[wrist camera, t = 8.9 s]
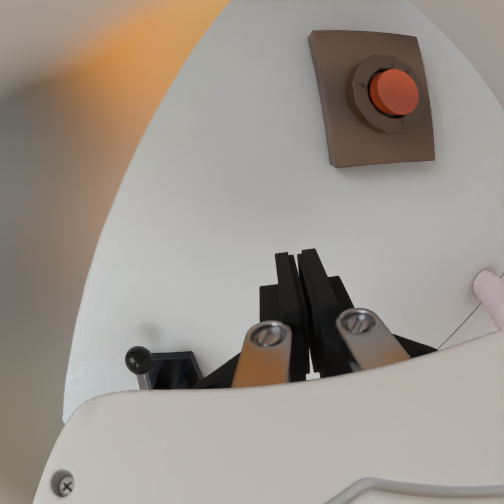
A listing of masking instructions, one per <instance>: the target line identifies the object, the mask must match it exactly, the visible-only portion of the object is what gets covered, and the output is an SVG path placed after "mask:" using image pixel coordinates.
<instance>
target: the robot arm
mask: <svg viewBox="0 0 504 504" xmlns="http://www.w3.org/2000/svg"><path fill="white" fill-rule="evenodd" d="M297 259H298V269H299V275H298V271H297V267H296V263H295V259H294V255H288V252H284V253H276V254H275V260H276V268H277V276H278V284H275V285H267V286H260V323H257V324H256V325H254V326H252V327H251V328H250V329H249V330H248V332H247V334H246V336H245V340H244V343H243V347H242V350H241V352H240V353H239V354H237V355H236V356H235V357H233V358H232V359H231V360H229V361H228V362H226V363H225V364H224V365H222V366H221V367H219V368H218V369H217V370H215V371H214V372H212V373H211V374H209V375H208V376H207V377H205V378H204V379H202V380H201V381H199V382H198V383H196V384H195V385H194V386H193V387H192V388H191V389H177V390H128V391H121V392H113V393H109V394H105V395H101V396H98V397H95V398H92V399H90V400H88V401H86V402H84V403H83V404H81V405H80V406H79V407H78V408H77V409H76V410H75V411H74V412H73V414H72V415H71V416H70V418H69V419H68V421H67V423H66V424H65V426H64V428H63V429H62V431H61V433H60V435H59V437H58V439H57V441H56V443H55V446H54V448H53V450H52V452H51V454H50V457H49V459H48V461H47V464H46V467H45V469H44V472H43V475H42V478H41V480H40V483H39V486H38V489H37V493H36V495H35V499H34V502H33V504H504V329H503V330H499V331H495V332H491V333H488V334H486V335H483V336H480V337H477V338H474V339H471V340H468V341H465V342H462V343H460V344H457V345H454V346H451V347H448V348H445V349H442V350H437V349H435V348H433V347H430V346H427V345H424V344H421V343H418V342H415V341H412V340H409V339H406V338H403V337H400V336H398V335H395V334H392V333H391V332H390V330H389V329H388V328H387V327H386V325H385V324H384V323H383V322H382V320H381V319H380V318H379V317H378V315H376V314H375V313H374V312H372V311H370V310H368V309H364V308H354V306H353V304H352V301H351V299H350V297H349V295H348V293H347V291H346V289H345V287H344V285H343V283H342V281H341V279H340V277H339V276H333V277H327V274H326V272H325V270H324V267H323V265H322V263H321V261H320V258H319V256H318V254H317V251H316V249H315V248H314V249H306V250H302V254H297ZM309 349H310V354H311V359H312V365H313V370H314V373H316V372H319V373H320V379H313V380H306V374H309V373H310V362H309Z"/></svg>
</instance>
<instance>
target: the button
mask: <svg viewBox="0 0 504 504" xmlns="http://www.w3.org/2000/svg"><path fill="white" fill-rule="evenodd" d="M369 91H370V96H371V99H372V101H373V103H374V104H375V106H376V107H377V108H378V109H379V110H380V111H382V112H384V113H386V114H389V115H406V114H409V113H411V112H412V111H413V110H414V109H415V108H416V106H417V104H418V100H419V93H418V89H417V86H416V84H415V82H414V81H413V79H412V78H411V77H410V76H409V75H408V74H406V73H405V72H403V71H401V70H397V69H391V70H387V71H384V72H382V73H379V74H377V75H376V76H374V78H373V79H372V80H371V83H370V89H369Z"/></svg>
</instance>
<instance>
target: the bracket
mask: <svg viewBox="0 0 504 504" xmlns="http://www.w3.org/2000/svg"><path fill="white" fill-rule="evenodd" d="M151 354H152V356H153V359H154V364H153V367H152V369H151V370H150V371H149V372H148V373H149V377H150V381H151V385H152V389H153V390H177V389H191V388H192V387H193V386H194V385H195V384H196V383H198V382H199V381H201V380H202V379H204V378H203V375H202V373H201V371H200V369H199V367H198V364H197V362H196V360H195V358H194V355H193V353H192V351H191V352H173V353H151Z"/></svg>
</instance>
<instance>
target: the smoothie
mask: <svg viewBox="0 0 504 504" xmlns="http://www.w3.org/2000/svg"><path fill="white" fill-rule="evenodd" d="M473 292H474V293H475V295H476V296H477V297H478V299H479V300H480V302H481V303H482V305H483V306H484V308H485V309H486V311H487V312H488V314H489V315H490V317H491V318H492V320H493V321H494V323H495V324H496V326H497V328H498V329H499V330H503V329H504V280H503V279H501V278H499V277H498V276H496V275H495V274H493V273H491V272H490V271H488V270H484V271H482V272H480V273H479V274H478V276H477V277H476V278H475V280H474V283H473Z"/></svg>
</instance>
